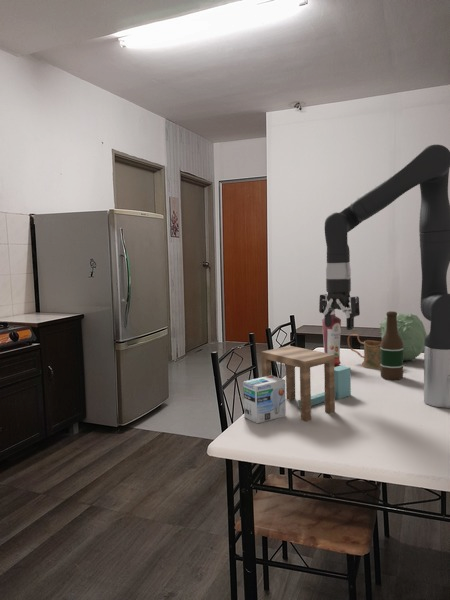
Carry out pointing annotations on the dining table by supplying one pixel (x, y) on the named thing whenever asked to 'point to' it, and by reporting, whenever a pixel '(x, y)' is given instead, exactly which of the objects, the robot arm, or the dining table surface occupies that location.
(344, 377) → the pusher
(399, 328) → the cabbage
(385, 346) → the beer bottle
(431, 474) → the dining table surface
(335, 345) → the liquor
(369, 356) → the mug
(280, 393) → the light bulb box
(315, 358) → the bench
